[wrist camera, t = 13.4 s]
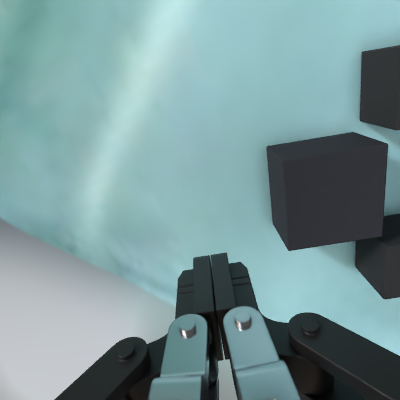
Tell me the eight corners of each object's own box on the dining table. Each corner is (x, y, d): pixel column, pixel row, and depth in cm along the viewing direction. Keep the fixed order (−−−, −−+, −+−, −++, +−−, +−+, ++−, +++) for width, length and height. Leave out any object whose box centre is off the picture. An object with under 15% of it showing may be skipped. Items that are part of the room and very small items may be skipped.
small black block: (272, 223, 24) (288, 251, 20) (266, 146, 21) (282, 161, 18) (351, 211, 23) (382, 236, 20) (353, 131, 21) (388, 143, 18)
